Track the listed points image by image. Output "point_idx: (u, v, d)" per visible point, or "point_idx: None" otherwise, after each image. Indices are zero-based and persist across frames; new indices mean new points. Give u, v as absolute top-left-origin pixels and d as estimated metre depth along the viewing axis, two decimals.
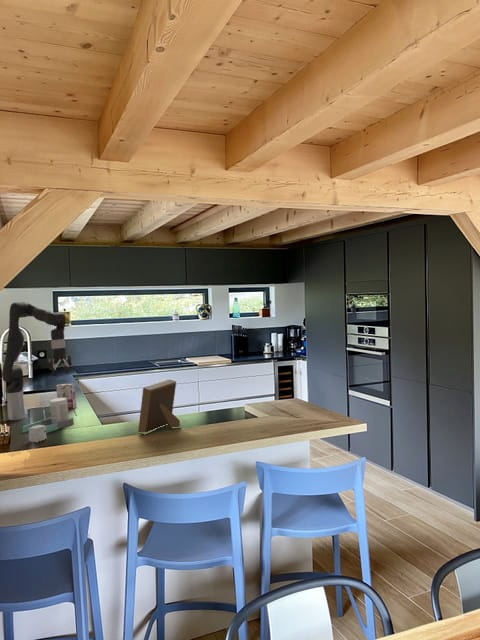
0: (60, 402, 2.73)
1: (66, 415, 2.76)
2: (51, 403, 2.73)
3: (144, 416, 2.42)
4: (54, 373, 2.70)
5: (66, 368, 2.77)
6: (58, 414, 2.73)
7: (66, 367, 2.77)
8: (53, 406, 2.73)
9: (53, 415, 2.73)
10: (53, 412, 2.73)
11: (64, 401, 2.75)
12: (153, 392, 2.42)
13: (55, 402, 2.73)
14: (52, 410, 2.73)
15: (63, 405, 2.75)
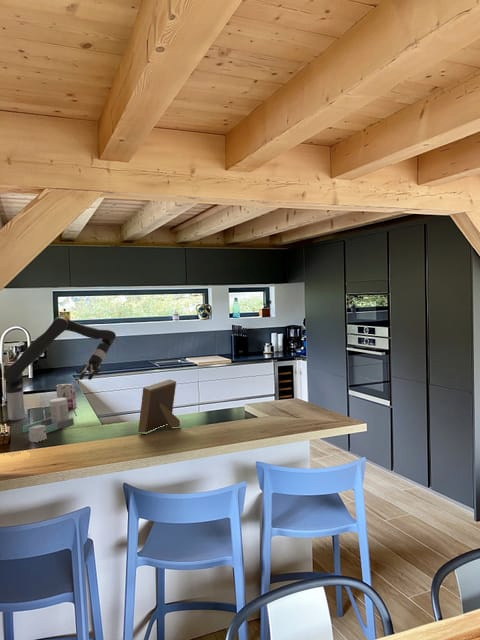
0: (60, 402, 2.73)
1: (66, 415, 2.76)
2: (51, 403, 2.73)
3: (144, 416, 2.42)
4: (91, 377, 2.93)
5: (83, 375, 2.98)
6: (58, 414, 2.73)
7: (83, 374, 2.98)
8: (53, 406, 2.73)
9: (53, 415, 2.73)
10: (53, 412, 2.73)
11: (64, 401, 2.75)
12: (153, 392, 2.42)
13: (55, 402, 2.73)
14: (52, 410, 2.73)
15: (63, 405, 2.75)
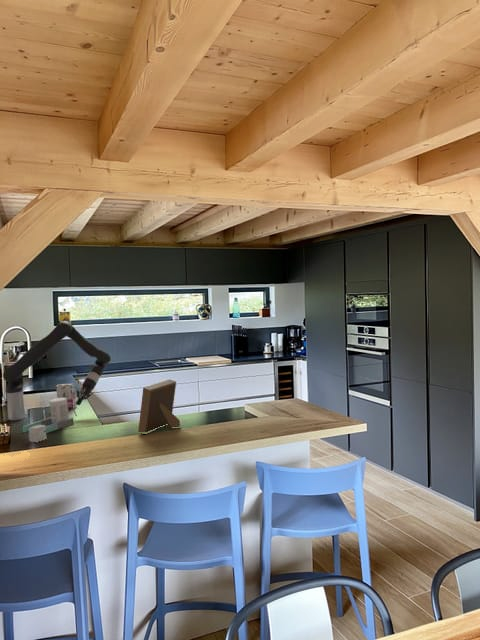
0: (60, 402, 2.73)
1: (66, 415, 2.76)
2: (51, 403, 2.73)
3: (144, 416, 2.42)
4: (80, 402, 2.90)
5: None
6: (58, 414, 2.73)
7: None
8: (53, 406, 2.73)
9: (53, 415, 2.73)
10: (53, 412, 2.73)
11: (64, 401, 2.75)
12: (153, 392, 2.42)
13: (55, 402, 2.73)
14: (52, 410, 2.73)
15: (63, 405, 2.75)
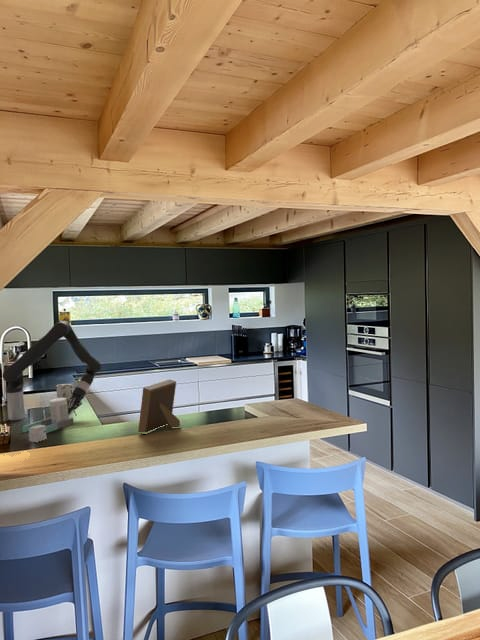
0: (60, 402, 2.73)
1: (66, 415, 2.76)
2: (51, 403, 2.73)
3: (144, 416, 2.42)
4: (70, 412, 2.83)
5: None
6: (58, 414, 2.73)
7: None
8: (53, 406, 2.73)
9: (53, 415, 2.73)
10: (53, 412, 2.73)
11: (64, 401, 2.75)
12: (153, 392, 2.42)
13: (55, 402, 2.72)
14: (52, 410, 2.73)
15: (63, 405, 2.74)
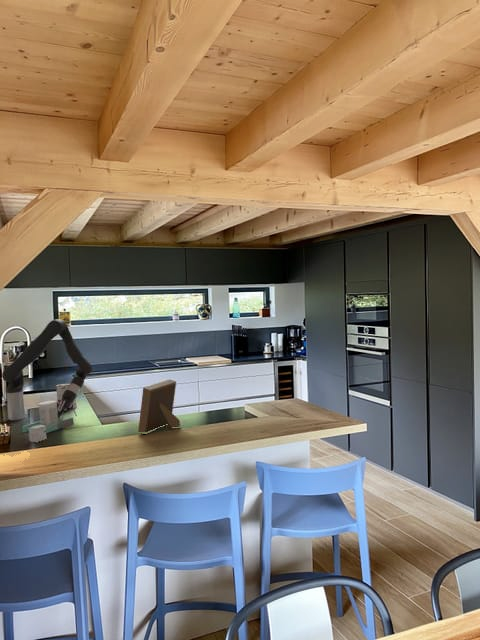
0: (49, 405, 2.67)
1: (55, 418, 2.70)
2: (40, 406, 2.67)
3: (144, 416, 2.42)
4: (59, 416, 2.76)
5: None
6: (47, 418, 2.67)
7: None
8: (42, 409, 2.66)
9: (42, 419, 2.67)
10: (42, 415, 2.67)
11: (53, 404, 2.69)
12: (153, 392, 2.42)
13: (44, 405, 2.66)
14: (41, 413, 2.67)
15: (52, 408, 2.68)
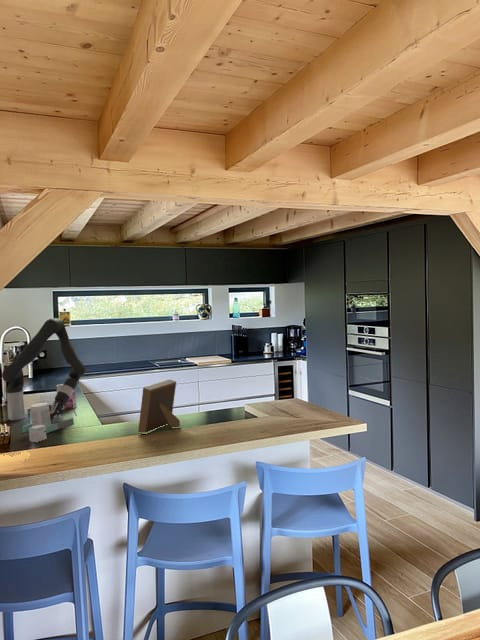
0: (41, 407, 2.62)
1: (48, 421, 2.65)
2: (32, 408, 2.62)
3: (144, 416, 2.42)
4: None
5: None
6: (39, 420, 2.62)
7: None
8: (34, 411, 2.62)
9: (34, 421, 2.62)
10: (34, 418, 2.62)
11: (46, 406, 2.65)
12: (153, 392, 2.42)
13: (36, 407, 2.62)
14: (33, 416, 2.62)
15: (44, 410, 2.64)
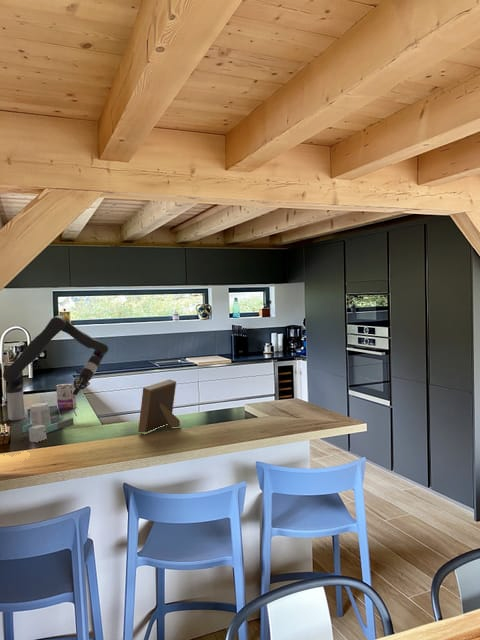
0: (41, 407, 2.62)
1: (48, 421, 2.65)
2: (32, 408, 2.62)
3: (144, 416, 2.42)
4: (77, 392, 2.88)
5: None
6: (39, 420, 2.62)
7: None
8: (34, 411, 2.62)
9: (34, 421, 2.62)
10: (34, 418, 2.62)
11: (45, 406, 2.65)
12: (153, 392, 2.42)
13: (36, 407, 2.62)
14: (33, 416, 2.62)
15: (44, 410, 2.64)
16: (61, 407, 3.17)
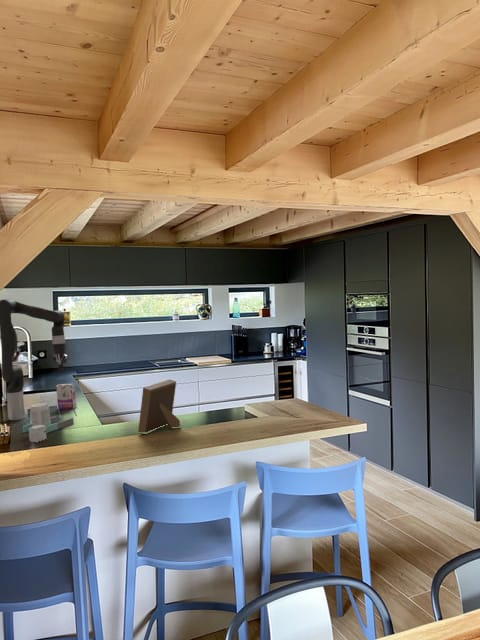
0: (41, 407, 2.62)
1: (48, 421, 2.65)
2: (32, 408, 2.62)
3: (144, 416, 2.42)
4: (63, 367, 2.95)
5: None
6: (39, 420, 2.62)
7: None
8: (34, 411, 2.62)
9: (34, 421, 2.62)
10: (34, 418, 2.62)
11: (46, 406, 2.65)
12: (153, 392, 2.42)
13: (36, 407, 2.62)
14: (33, 416, 2.62)
15: (44, 410, 2.64)
16: (61, 407, 3.17)
